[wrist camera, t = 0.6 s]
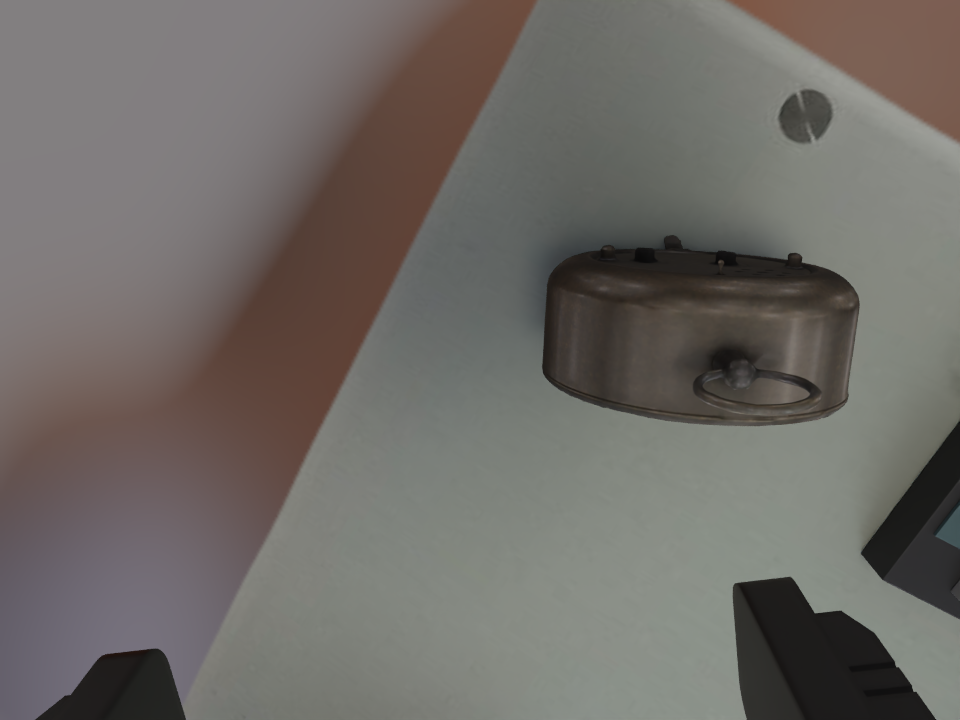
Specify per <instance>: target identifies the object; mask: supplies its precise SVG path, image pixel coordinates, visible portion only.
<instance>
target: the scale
mask: <svg viewBox="0 0 960 720" xmlns="http://www.w3.org/2000/svg"><path fill="white" fill-rule="evenodd" d="M861 554H862V555H863V556H864V558H865V559H866V560H867V561H868V563H869V564H870V565H871V566H872V568H873V569H874V570H875V571H876V572H877V574H878V575H879V576H880V577H881V579H882V580H884V581H886V582H887V583H889V584H891V585H893V586H895V587H897V588H899V589H901V590H903V591H905V592H907V593H909V594H911V595H913V596H915V597H917V598H919V599H921V600H923V601H925V602H927V603H929V604H931V605H933V606H935V607H937V608H939V609H941V610H942V611H944V612H946V613H948V614H950V615H952V616H954V617H956V618H958V619H960V422H959V424H958V425H957V426H956V428H955V429H954V430H953V432H952V433H951V434H950V436H949V437H948V438H947V440H946V441H945V442H944V444H943V445H942V446H941V448H940V449H939V450H938V452H937V453H936V454H935V456H934V457H933V458H932V460H931V461H930V462H929V464H928V465H927V466H926V468H925V469H924V470H923V472H922V473H921V474H920V476H919V477H918V478H917V480H916V481H915V482H914V484H913V485H912V486H911V488H910V489H909V490H908V492H907V493H906V494H905V496H904V497H903V498H902V500H901V501H900V502H899V504H898V505H897V506H896V508H895V509H894V510H893V512H892V513H891V514H890V516H889V517H888V518H887V520H886V521H885V522H884V524H883V525H882V526H881V528H880V529H879V530H878V532H877V533H876V534H875V536H874V537H873V538H872V540H871V541H870V542H869V544H868V545H867V546H866V548H865V549H864V550H863V551H862V553H861Z"/></svg>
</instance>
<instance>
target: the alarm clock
mask: <svg viewBox="0 0 960 720" xmlns="http://www.w3.org/2000/svg"><path fill="white" fill-rule="evenodd" d="M664 242H665V247H666V250H659V249H652V248H637V249H616V250H615V248H614V247H613V246H611V245H607V246H603V247H602V249H601V250H600V251H591V252H586V253H582V254H578V255H575V256H572V257H570V258H568V259H566V260H564V261H563V262H562V263H560V264H559V265H558V266H557V267H556V268H555V269H554V270H553V272H552V273H551V275H550V277H549V280H548V284H547V297H546V313H545V330H544V349H543V364H542V369H543V374H544V376H545V377H546V379H547V380H548V381H549V382H550V383H551V384H552V385H554V386H555V387H557V388H558V389H559V390H561V391H564V392H565V393H567V394H568V395H570V396H573V397H576V398H578V399H581V400H583V401H585V402H588V403H592V404H595V405H598V406H601V407H603V408H610V409H613V410H617V411H621V412H626V413H631V414H635V415H639V416H644V417H648V418H655V419H660V420H666V421H674V422H683V423H691V424H706V425H725V426H766V425H783V424H793V423H800V422H807V421H813V420H818V419H821V418H825V417H828V416H829V415H831V414H833V413H835V412H836V411H837V410H839V409H840V408H841V407H843V406H844V405H845V403H846V402H847V399H848V383H849V376H850V369H851V362H852V356H853V349H854V342H855V335H856V328H857V321H858V314H859V298H858V295H857V293H856V291H855V290H854V288H853V287H852V286H851V284H850V283H849V282H848V281H847V280H846V279H844V278H843V277H842V276H840V275H838V274H837V273H835V272H833V271H831V270H828V269H826V268H822V267H819V266H816V265H811V264H806V263H802V256H801V255H800V254H798V253H790V254H789V255H788V260H783V259H777V258H769V257H761V256H751V255H741V254H736V253H733V252H726V251H718V252H702V251H691V250H689V249H683V248H682V245H681V241H680V240H679V239H678V238H677V237H676V236H673V235H671V236H666V237H665V239H664Z"/></svg>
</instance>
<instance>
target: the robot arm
mask: <svg viewBox="0 0 960 720" xmlns="http://www.w3.org/2000/svg"><path fill="white" fill-rule="evenodd" d="M733 606H734V619H735V632H736V645H737V658H738V671H739V683H740V690H741V696H742V701H743V706H744V710H745V714H746V718H747V720H936V719H935V717H934V716H933V715H932V713H931V712H930V710H929V709H928V708H927V706H926V705H925V703H924V702H923V701H922V699H921V698H920V696H919V695H918V694H917V692H913V689H912V685H911V684H910V682H909V681H908V679H907V678H906V677H905V675H904V674H903V672H902V671H901V670H900V668H899V667H897V668H896V665H895V661H894V660H893V658H892V657H891V656H890V654H889V653H888V651H887V650H886V649H885V647H884V646H883V644H882V643H881V642H880V640H879V639H878V637H877V636H876V635H875V633H874V632H872V631H871V630H869V629H868V628H866V627H865V626H863V625H862V624H860V623H859V622H857V621H856V620H854V619H853V618H851V617H850V616H848V615H847V614H845V613H844V612H842V611H833V612H824V613H814V611H813V610H812V608H811V606H810V605H809V603H808V602H807V600H806V598H805V597H804V595H803V594H802V592H801V590H800V589H799V587H798V586H797V584H796V582H795V581H794V580H793V579H792V578H791V577H785V578H776V579H767V580H759V581H750V582H741V583H735V584H734V586H733ZM36 720H186V718H185V715H184V712H183V708H182V705H181V702H180V698H179V695H178V692H177V688H176V685H175V682H174V679H173V675H172V672H171V669H170V665H169V662H168V660H167V658H166V656H165V654H164V653H163V652H162V651H161V650H159V649H147V650H139V651H130V652H122V653H113V654H105V655H103V656H101V657H100V658H99V659H98V660H97V661H96V662H95V664H94V665H93V666H92V668H91V669H90V670H89V672H88V673H87V674H86V675H85V677H84V678H83V679H82V681H81V682H80V684H79V685H78V686H77V687H76V689H75V690H74V691H73V693H72V694H71V695H68V696H64V697H63V698H62V699H61V700H59V701H58V702H57V703H56V704H54V705H53V706H52V707H51V708H49V709H48V710H47V711H46V712H44V713H43V714H42V715H41V716H39V717H38V718H37V719H36Z"/></svg>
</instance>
